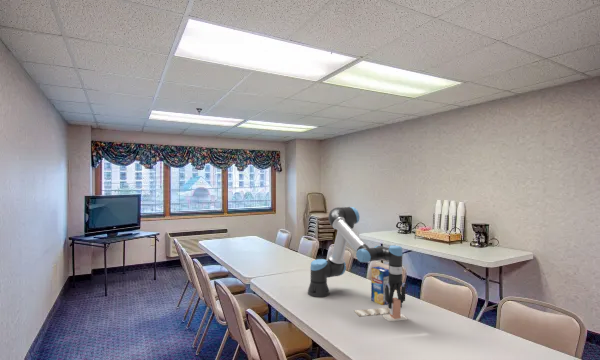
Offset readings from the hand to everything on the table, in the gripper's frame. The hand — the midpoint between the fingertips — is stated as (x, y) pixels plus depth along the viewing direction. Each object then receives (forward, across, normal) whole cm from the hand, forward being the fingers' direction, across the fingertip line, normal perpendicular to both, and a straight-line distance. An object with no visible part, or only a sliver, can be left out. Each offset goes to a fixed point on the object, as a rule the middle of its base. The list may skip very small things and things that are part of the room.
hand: (395, 313), depth 187 cm
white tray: (+4, -6, +5) cm, 9 cm away
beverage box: (+4, +6, +28) cm, 29 cm away
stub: (+3, 0, 0) cm, 3 cm away
